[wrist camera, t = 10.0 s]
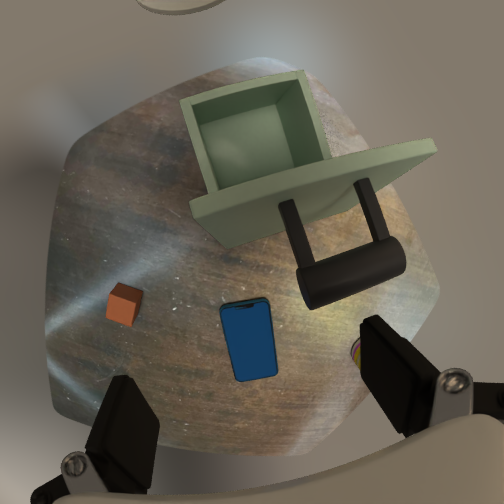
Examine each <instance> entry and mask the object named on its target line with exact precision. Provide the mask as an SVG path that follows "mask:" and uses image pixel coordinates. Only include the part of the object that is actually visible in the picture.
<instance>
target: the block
mask: <svg viewBox="0 0 504 504" xmlns="http://www.w3.org/2000/svg"><path fill="white" fill-rule="evenodd" d="M142 294H143V291H140V290H137V289H134V288H132V287H129V286H126V285H123V284H121V283H118V284H117V285H116V286H115V287H114V289H113V290H112V291H111V292H110V294H109V299H108V305H107V312H106V318H108V319H111V320H113V321H116V322H118V323H121V324H124V325H127V326H129V327H132V325H133V323H134V321H135V319H136V317H137V315H138V311H139V307H140V302H141V298H142Z"/></svg>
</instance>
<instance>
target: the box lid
mask: <svg viewBox="0 0 504 504" xmlns="http://www.w3.org/2000/svg"><path fill="white" fill-rule="evenodd" d="M436 152H437V148H436V146H435V144H434V142H433V140H432V138H425V139H421V140H415V141H409V142H404V143H398V144H393V145H388V146H383V147H379V148H374V149H369V150H364V151H360V152H356V153H351V154H347V155H343V156H339V157H334V158H330V159H326V160H322V161H318V162H315V163H311V164H307V165H303V166H299V167H296V168H292V169H289V170H285V171H281V172H278V173H274V174H271V175H268V176H264V177H261V178H257V179H254V180H251V181H248V182H244V183H241V184H238V185H235V186H232V187H229V188H225V189H222V190H219V191H216V192H213V193H210V194H207V195H204V196H201V197H199V198H196V199H193V200H190V201H189V206H190V209H191V213H192V216H193V219H194V220H195V221H196V222H198V223H199V224H200V225H201V226H202V227H203V228H204V229H205V230H206V231H207V232H209V233H210V234H211V235H212V236H213V237H214V238H215V239H216V240H217V241H218V242H220V243H221V244H222V245H223V246H224V247H225V248H226V249H230V248H233V247H236V246H239V245H242V244H245V243H248V242H251V241H254V240H258V239H261V238H264V237H267V236H270V235H273V234H276V233H279V232H282V231H285V230H286V232H287V235H288V238H289V241H290V244H291V247H292V250H293V253H294V256H295V259H296V262H297V265H298V269H297V270H296V276H297V281H298V285H299V288H300V291H301V294H302V297H303V299H304V301H305V304H306V305H307V307H308V308H309V310H314V309H317V308H320V307H322V306H325V305H328V304H330V303H333V302H336V301H338V300H341V299H343V298H346V297H348V296H351V295H354V294H356V293H358V292H361V291H363V290H366V289H368V288H371V287H373V286H375V285H378V284H380V283H383V282H385V281H387V280H390V279H392V278H394V277H396V276H399V275H401V274H403V273H404V271H405V269H406V256H405V253H404V250H403V248H402V246H401V244H400V242H399V241H398V240H397V239H396V238H395V237H393V236H390V234H389V231H388V228H387V225H386V222H385V219H384V217H383V214H382V211H381V208H380V205H379V203H378V200H377V197H376V195H375V193H376V192H377V191H379V190H380V189H382V188H383V187H385V186H386V185H388V184H389V183H391V182H392V181H394V180H395V179H397V178H398V177H400V176H402V175H403V174H405V173H406V172H408V171H409V170H411V169H412V168H414V167H415V166H417V165H418V164H420V163H421V162H423V161H424V160H426V159H427V158H429V157H430V156H432V155H433V154H435V153H436ZM359 203H360V204H361V207H362V210H363V212H364V215H365V218H366V221H367V224H368V227H369V230H370V232H371V236H372V239H373V242H370V243H368V244H365V245H362V246H359V247H357V248H354V249H351V250H348V251H346V252H343V253H340V254H337V255H334V256H332V257H329V258H326V259H323V260H320V261H317V262H315V260H314V257H313V254H312V251H311V248H310V245H309V242H308V239H307V236H306V233H305V230H304V227H303V225H304V224H307V223H310V222H313V221H317V220H320V219H323V218H326V217H329V216H332V215H336V214H339V213H342V212H345V211H348V210H349V209H351V208H352V207H354V206H355V205H357V204H359Z"/></svg>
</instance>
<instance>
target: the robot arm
mask: <svg viewBox="0 0 504 504" xmlns="http://www.w3.org/2000/svg"><path fill="white" fill-rule="evenodd" d="M360 373H361V377H362V379H363V381H364V383H365V384H366V386H367V387H368V389H369V390H370V392H371V393H372V395H373V396H374V398H375V399H376V401H377V402H378V404H379V405H380V407H381V408H382V410H383V411H384V413H385V414H386V416H387V417H388V419H389V420H390V422H391V423H392V425H393V427H394V428H395V429H396V431H397V432H398V433H399V434H400V433H403V435H404V436H405V438H406V439H404V440H402V441H400V442H398V443H395V444H393V445H391V446H389V447H387V448H384V449H382V450H380V451H377V452H375V453H372V454H370V455H367V456H365V457H362V458H360V459H358V460H355V461H352V462H349V463H347V464H344V465H341V466H338V467H335V468H332V469H329V470H326V471H323V472H319V473H316V474H313V475H309V476H306V477H302V478H298V479H294V480H290V481H286V482H281V483H277V484H272V485H267V486H261V487H256V488H250V489H243V490H237V491H228V492H219V493H209V494H192V495H147V489H149V488H150V487H151V481H152V474H153V467H154V460H155V452H156V447H157V440H158V434H159V428H160V423H159V420H158V418H157V417H156V415H155V414H154V412H153V411H152V409H151V407H150V406H149V404H148V403H147V401H146V400H145V398H144V396H143V395H142V393H141V391H140V390H139V388H138V386H137V385H136V383H135V381H134V380H133V378H130V377H129V376H128V375H119V376H114V377H113V379H112V381H111V383H110V385H109V388H108V390H107V392H106V395H105V397H104V400H103V402H102V404H101V407H100V409H99V412H98V414H97V417H96V419H95V422H94V424H93V427H92V429H91V432H90V435H89V437H88V440H87V443H86V445H85V448H86V452H85V453H83V452H80V451H77V452H72V453H70V454H68V455H67V456H66V457H65V458H64V459H63V461H62V463H61V472H62V474H61V475H59V476H57V477H56V478H54V479H53V480H51V481H49V482H47V483H45V484H44V485H42V486H40V487H38V488H37V489H35V490H34V492H33V493H32V495H31V499H30V500H31V501H30V502H31V504H504V383H482V382H473V378H472V377H471V375H470V373H468V372H467V371H466V370H463V369H460V368H451V369H447V370H445V371H443V372H442V373H441V372H439V370H438V369H437V368H436V367H435V366H433V365H432V364H431V363H430V362H429V361H428V360H427V359H426V358H425V357H424V356H423V355H422V354H421V353H420V352H419V351H418V350H417V349H416V348H415V347H414V346H413V345H412V344H411V343H410V342H409V341H408V340H407V339H405V338H403V337H401V336H400V335H399V334H398V333H397V332H395V331H394V330H393V329H392V328H391V327H390V326H389V325H388V324H387V323H386V322H385V321H384V320H383V319H382V318H381V317H380V316H379V315H373V316H370V317H368V318H365V319H364V320H363V323H361V324H360ZM413 434H414V435H413ZM411 435H413V436H411ZM409 436H410V437H409ZM407 437H408V438H407Z"/></svg>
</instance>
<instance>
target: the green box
mask: <svg viewBox="0 0 504 504" xmlns="http://www.w3.org/2000/svg"><path fill="white" fill-rule="evenodd" d="M179 103H180V106H181V109H182V112H183V116H184V119H185V122H186V125H187V129H188V132H189V135H190V138H191V141H192V144H193V148H194V151H195V154H196V157H197V160H198V163H199V166H200V169H201V172H202V176H203V179H204V182H205V185H206V188H207V191H208V194H210V193H213V192H216V191H219V190H222V189H225V188H229V187H232V186H235V185H238V184H241V183H244V182H248V181H251V180H254V179H257V178H261V177H264V176H268V175H271V174H274V173H278V172H281V171H285V170H289V169H292V168H296V167H299V166H303V165H307V164H311V163H315V162H318V161H322V160H326V159H330V158H332V156H331V152H330V149H329V145H328V142H327V138H326V135H325V132H324V128H323V125H322V122H321V119H320V115H319V112H318V109H317V106H316V103H315V100H314V97H313V94H312V91H311V88H310V86H309V83H308V80H307V77H306V74H305V72H304V70H298V71H291V72H286V73H280V74H275V75H270V76H265V77H260V78H255V79H251V80H247V81H243V82H239V83H235V84H231V85H227V86H223V87H220V88H216V89H213V90H209V91H206V92H203V93H200V94H196V95H193V96H190V97H187V98H184V99H181V100H179Z"/></svg>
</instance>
